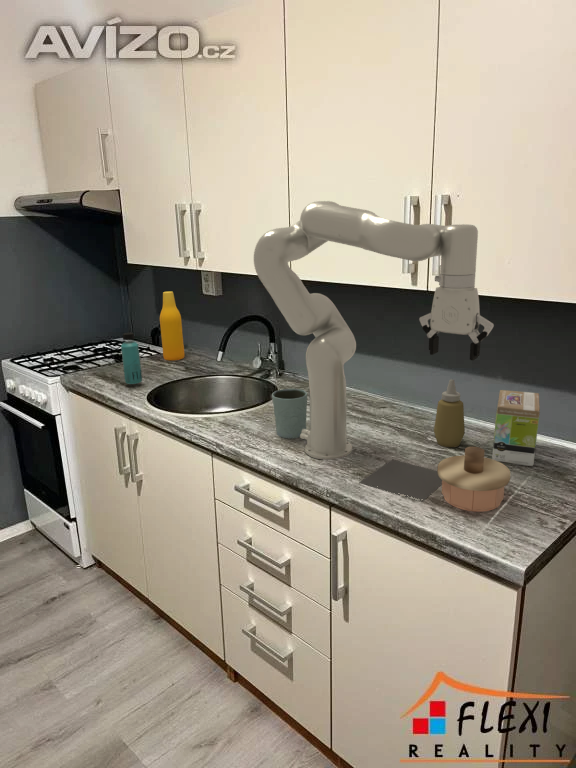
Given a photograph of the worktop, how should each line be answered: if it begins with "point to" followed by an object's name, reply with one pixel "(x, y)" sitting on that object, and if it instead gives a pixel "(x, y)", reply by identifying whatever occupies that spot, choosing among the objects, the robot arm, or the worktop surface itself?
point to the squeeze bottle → (449, 418)
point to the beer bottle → (171, 329)
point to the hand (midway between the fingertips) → (453, 356)
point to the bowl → (472, 498)
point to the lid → (474, 471)
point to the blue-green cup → (290, 412)
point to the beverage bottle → (131, 360)
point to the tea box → (516, 427)
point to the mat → (404, 479)
